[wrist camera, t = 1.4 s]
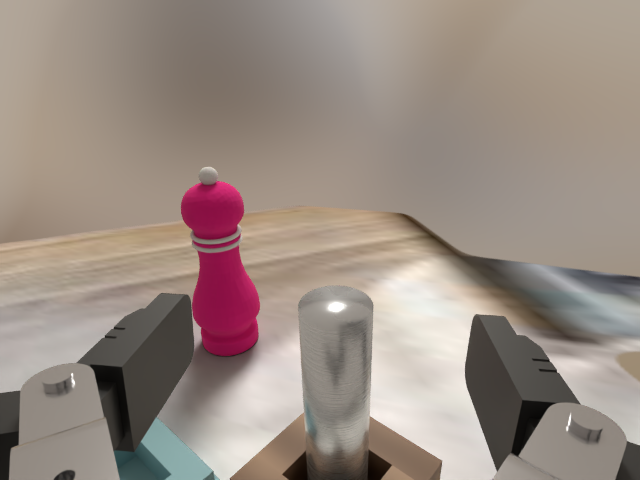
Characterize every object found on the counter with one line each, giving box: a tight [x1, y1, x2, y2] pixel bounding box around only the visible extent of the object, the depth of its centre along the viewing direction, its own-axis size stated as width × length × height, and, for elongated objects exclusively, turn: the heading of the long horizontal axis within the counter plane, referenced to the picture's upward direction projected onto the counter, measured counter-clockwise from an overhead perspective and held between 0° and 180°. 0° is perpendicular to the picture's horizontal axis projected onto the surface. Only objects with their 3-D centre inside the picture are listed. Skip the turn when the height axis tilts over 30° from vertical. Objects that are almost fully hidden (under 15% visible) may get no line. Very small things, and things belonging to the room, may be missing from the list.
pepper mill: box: [181, 167, 260, 356], centre depth 45 cm, size 7×7×20 cm
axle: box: [298, 286, 373, 480], centre depth 27 cm, size 4×4×18 cm
